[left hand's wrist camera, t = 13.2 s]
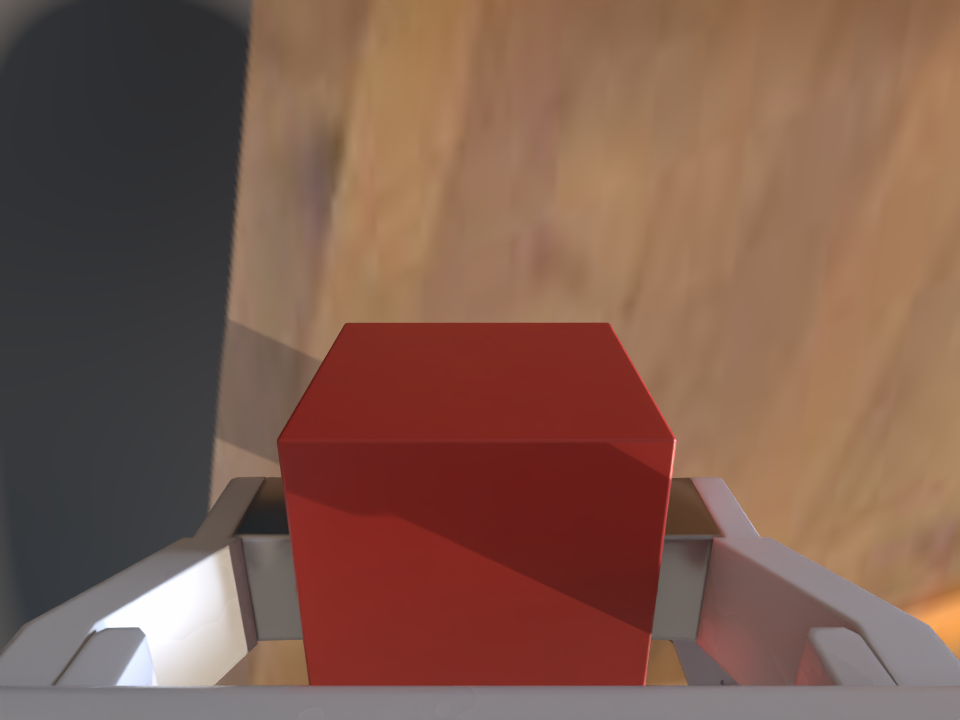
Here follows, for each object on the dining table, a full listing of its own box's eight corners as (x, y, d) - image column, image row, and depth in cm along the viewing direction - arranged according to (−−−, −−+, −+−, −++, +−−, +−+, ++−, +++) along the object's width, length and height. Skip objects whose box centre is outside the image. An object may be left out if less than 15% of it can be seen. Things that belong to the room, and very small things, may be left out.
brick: (344, 321, 11) (274, 438, 8) (610, 321, 11) (679, 438, 8) (363, 554, 13) (315, 745, 9) (592, 554, 13) (638, 744, 9)
